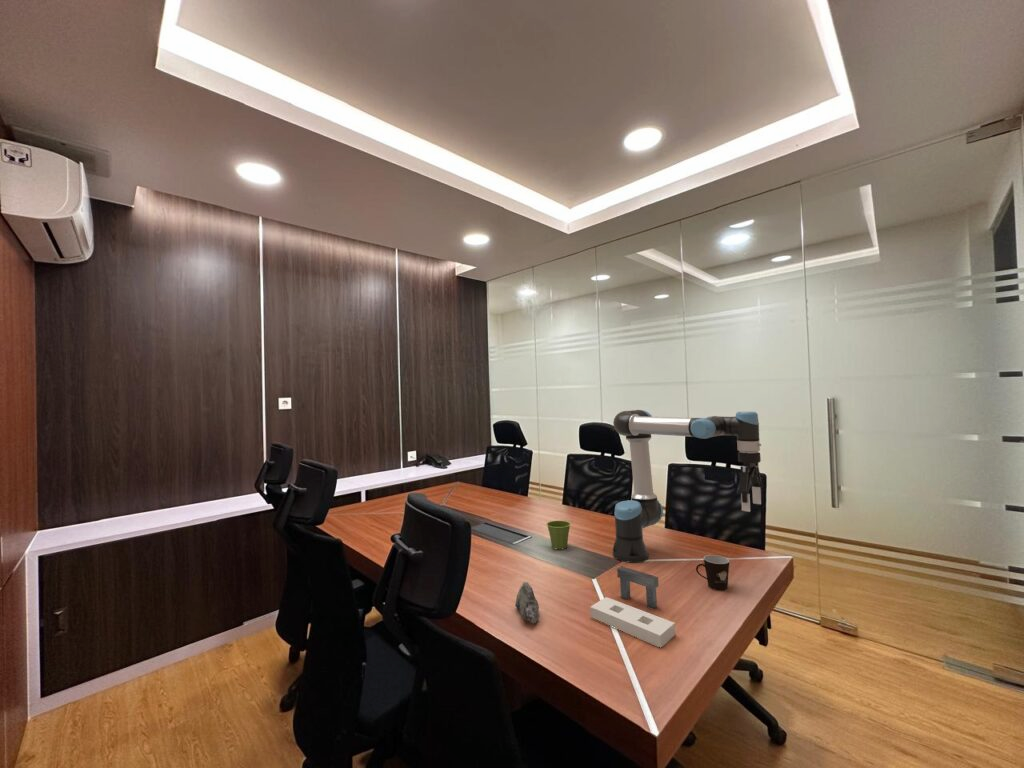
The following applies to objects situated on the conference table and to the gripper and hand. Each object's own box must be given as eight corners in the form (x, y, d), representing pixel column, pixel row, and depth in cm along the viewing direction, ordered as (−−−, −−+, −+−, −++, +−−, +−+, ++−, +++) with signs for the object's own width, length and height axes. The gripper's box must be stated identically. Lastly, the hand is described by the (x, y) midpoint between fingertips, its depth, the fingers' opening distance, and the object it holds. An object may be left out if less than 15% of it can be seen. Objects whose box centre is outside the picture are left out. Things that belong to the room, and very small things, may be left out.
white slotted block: (590, 617, 134) (590, 606, 134) (606, 607, 140) (606, 596, 140) (660, 648, 116) (660, 635, 116) (675, 634, 122) (674, 622, 123)
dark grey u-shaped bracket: (618, 597, 147) (617, 568, 147) (623, 594, 149) (621, 566, 149) (655, 610, 137) (653, 580, 137) (659, 607, 139) (658, 577, 139)
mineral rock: (534, 629, 128) (533, 596, 128) (503, 623, 132) (502, 591, 133) (547, 609, 140) (546, 579, 140) (518, 604, 144) (517, 575, 144)
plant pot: (575, 545, 200) (574, 521, 201) (565, 553, 190) (564, 528, 191) (554, 541, 207) (553, 518, 207) (542, 549, 197) (541, 525, 197)
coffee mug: (728, 583, 155) (727, 556, 155) (732, 593, 146) (731, 564, 147) (695, 579, 158) (693, 553, 159) (697, 589, 150) (695, 561, 151)
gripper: (749, 456, 147) (752, 516, 147) (768, 448, 165) (771, 502, 164) (727, 454, 153) (730, 512, 152) (748, 447, 170) (750, 499, 169)
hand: (751, 507), depth 158 cm, fingers open, 13 cm apart
